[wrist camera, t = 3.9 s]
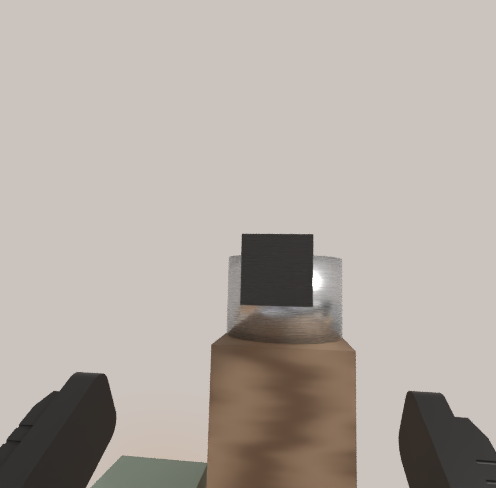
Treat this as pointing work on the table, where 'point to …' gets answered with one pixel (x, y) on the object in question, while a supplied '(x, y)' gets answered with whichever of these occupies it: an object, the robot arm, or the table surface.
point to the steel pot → (284, 291)
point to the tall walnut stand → (282, 415)
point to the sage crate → (153, 474)
